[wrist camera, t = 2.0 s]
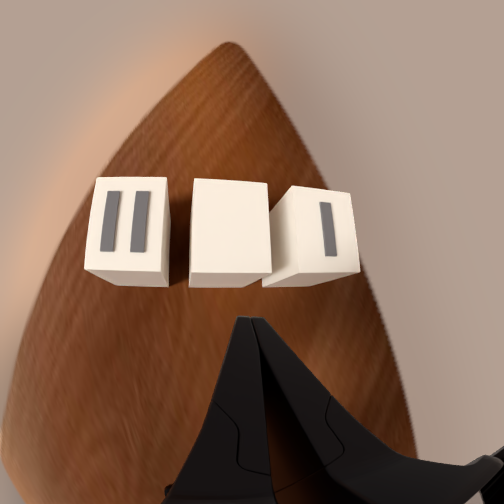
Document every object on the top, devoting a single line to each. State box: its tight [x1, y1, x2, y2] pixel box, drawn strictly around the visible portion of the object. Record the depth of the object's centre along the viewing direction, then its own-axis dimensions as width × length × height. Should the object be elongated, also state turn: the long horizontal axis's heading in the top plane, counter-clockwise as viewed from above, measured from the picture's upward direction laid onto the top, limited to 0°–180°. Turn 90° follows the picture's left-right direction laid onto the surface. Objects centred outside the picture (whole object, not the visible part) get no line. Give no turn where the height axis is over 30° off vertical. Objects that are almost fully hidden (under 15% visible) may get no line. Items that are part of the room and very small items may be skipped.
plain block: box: [189, 178, 272, 287], centre depth 17 cm, size 5×4×7 cm
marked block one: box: [262, 186, 360, 287], centre depth 19 cm, size 5×4×7 cm
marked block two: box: [84, 177, 171, 287], centre depth 16 cm, size 5×4×7 cm
